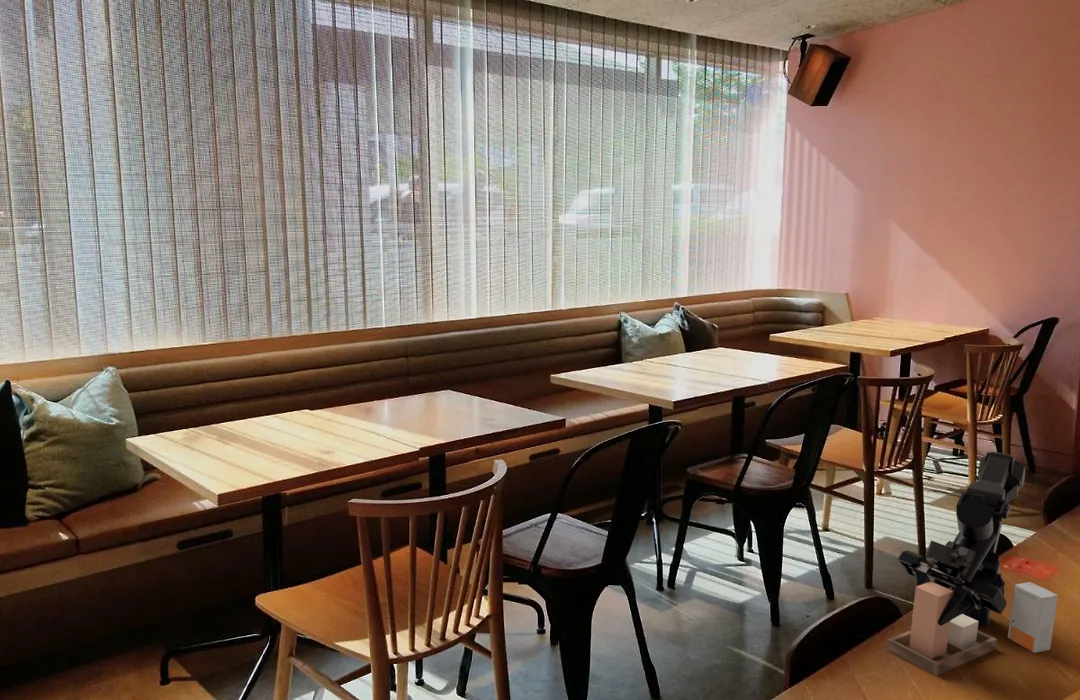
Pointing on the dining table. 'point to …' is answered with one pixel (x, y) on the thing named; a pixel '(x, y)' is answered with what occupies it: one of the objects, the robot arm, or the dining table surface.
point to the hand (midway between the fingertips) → (926, 618)
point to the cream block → (963, 631)
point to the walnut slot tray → (945, 661)
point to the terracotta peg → (930, 620)
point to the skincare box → (1032, 617)
